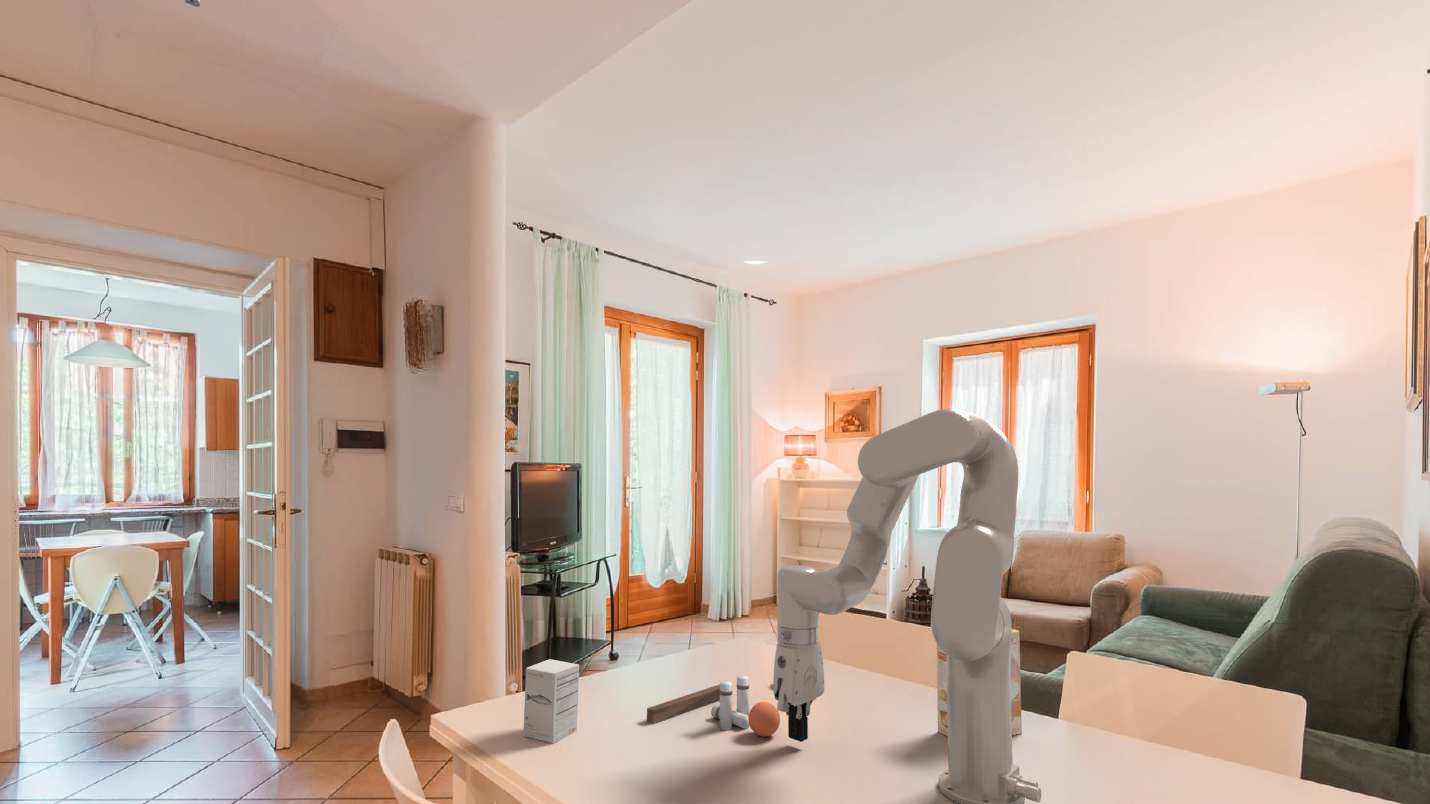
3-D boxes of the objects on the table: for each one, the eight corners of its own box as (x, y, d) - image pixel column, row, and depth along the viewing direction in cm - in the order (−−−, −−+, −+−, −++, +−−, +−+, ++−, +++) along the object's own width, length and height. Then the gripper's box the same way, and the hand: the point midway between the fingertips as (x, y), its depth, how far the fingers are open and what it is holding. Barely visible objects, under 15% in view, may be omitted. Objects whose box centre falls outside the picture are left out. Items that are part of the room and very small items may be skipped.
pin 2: (751, 721, 137) (751, 677, 138) (743, 724, 136) (743, 680, 136) (742, 717, 139) (742, 674, 140) (733, 721, 137) (734, 677, 138)
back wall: (728, 697, 151) (728, 685, 152) (653, 723, 135) (653, 710, 136) (721, 695, 153) (722, 683, 153) (646, 721, 137) (646, 708, 137)
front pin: (751, 714, 135) (719, 703, 140) (742, 716, 133) (711, 705, 139) (750, 727, 134) (718, 716, 140) (742, 730, 132) (710, 718, 138)
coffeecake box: (962, 745, 126) (959, 636, 128) (936, 731, 133) (934, 628, 134) (1024, 734, 132) (1021, 630, 134) (996, 721, 138) (993, 622, 140)
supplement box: (521, 737, 128) (524, 667, 130) (548, 724, 135) (550, 657, 136) (552, 745, 125) (554, 673, 126) (578, 731, 131) (580, 663, 133)
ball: (759, 696, 135) (764, 729, 134) (739, 705, 131) (744, 739, 130) (783, 698, 131) (788, 732, 130) (764, 707, 127) (769, 742, 126)
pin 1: (734, 727, 134) (735, 683, 134) (726, 731, 132) (726, 686, 133) (725, 724, 135) (725, 680, 136) (716, 727, 134) (717, 683, 134)
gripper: (789, 646, 119) (789, 757, 117) (837, 631, 130) (838, 733, 128) (755, 638, 124) (755, 744, 122) (805, 625, 135) (805, 722, 133)
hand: (798, 738), depth 125 cm, fingers closed
